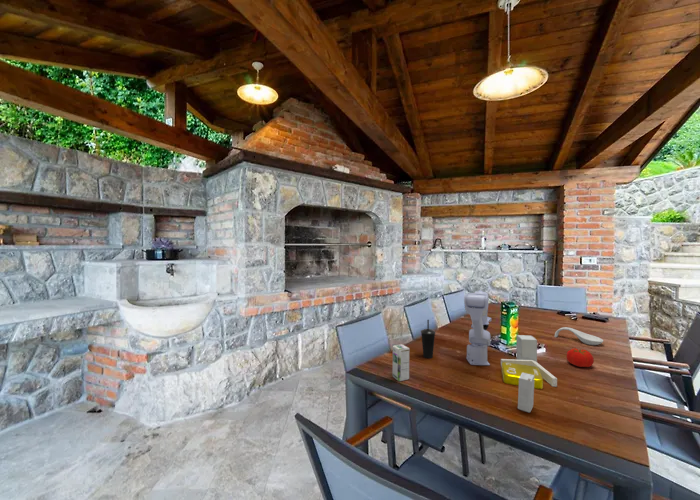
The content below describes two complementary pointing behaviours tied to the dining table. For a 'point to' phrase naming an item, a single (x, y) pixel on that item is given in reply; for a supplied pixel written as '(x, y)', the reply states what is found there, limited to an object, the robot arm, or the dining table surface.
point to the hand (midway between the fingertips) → (481, 337)
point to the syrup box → (400, 362)
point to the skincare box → (526, 392)
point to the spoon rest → (582, 336)
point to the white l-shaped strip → (544, 373)
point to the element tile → (514, 371)
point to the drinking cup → (428, 341)
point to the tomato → (580, 357)
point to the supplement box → (526, 348)
